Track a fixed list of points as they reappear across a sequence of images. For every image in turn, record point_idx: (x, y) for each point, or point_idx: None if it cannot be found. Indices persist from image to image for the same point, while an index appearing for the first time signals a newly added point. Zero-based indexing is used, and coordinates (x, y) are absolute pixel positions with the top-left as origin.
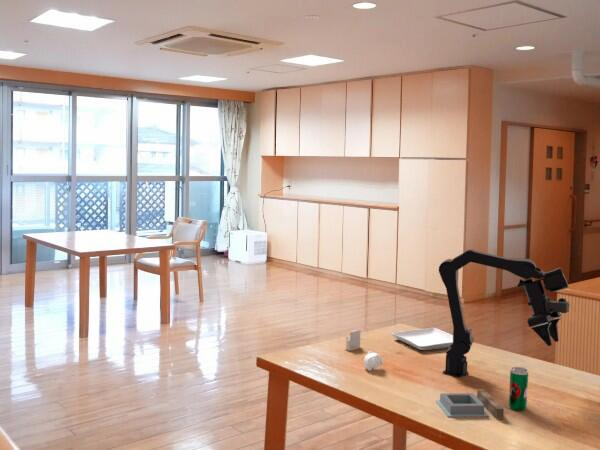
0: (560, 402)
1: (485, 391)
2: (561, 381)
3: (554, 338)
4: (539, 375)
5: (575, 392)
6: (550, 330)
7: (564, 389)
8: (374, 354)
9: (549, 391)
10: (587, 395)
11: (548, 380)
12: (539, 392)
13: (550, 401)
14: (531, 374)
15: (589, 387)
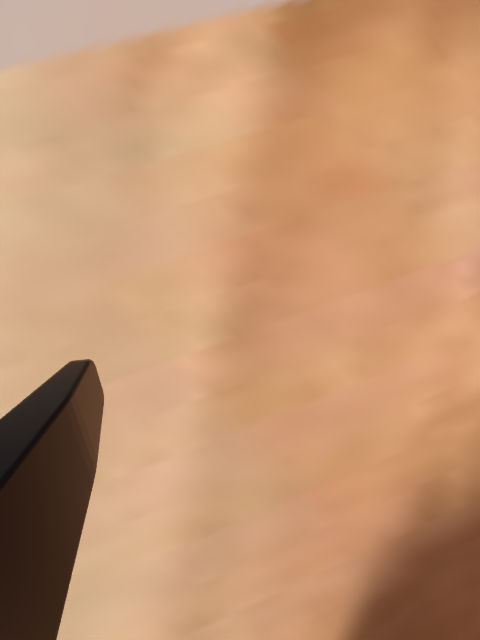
0: (434, 168)
1: None
2: (44, 288)
3: (92, 434)
4: None
5: (200, 148)
6: (28, 613)
7: (192, 221)
8: None
9: (292, 281)
10: (204, 67)
11: None
12: (348, 319)
13: (453, 219)
14: None
15: (27, 98)
